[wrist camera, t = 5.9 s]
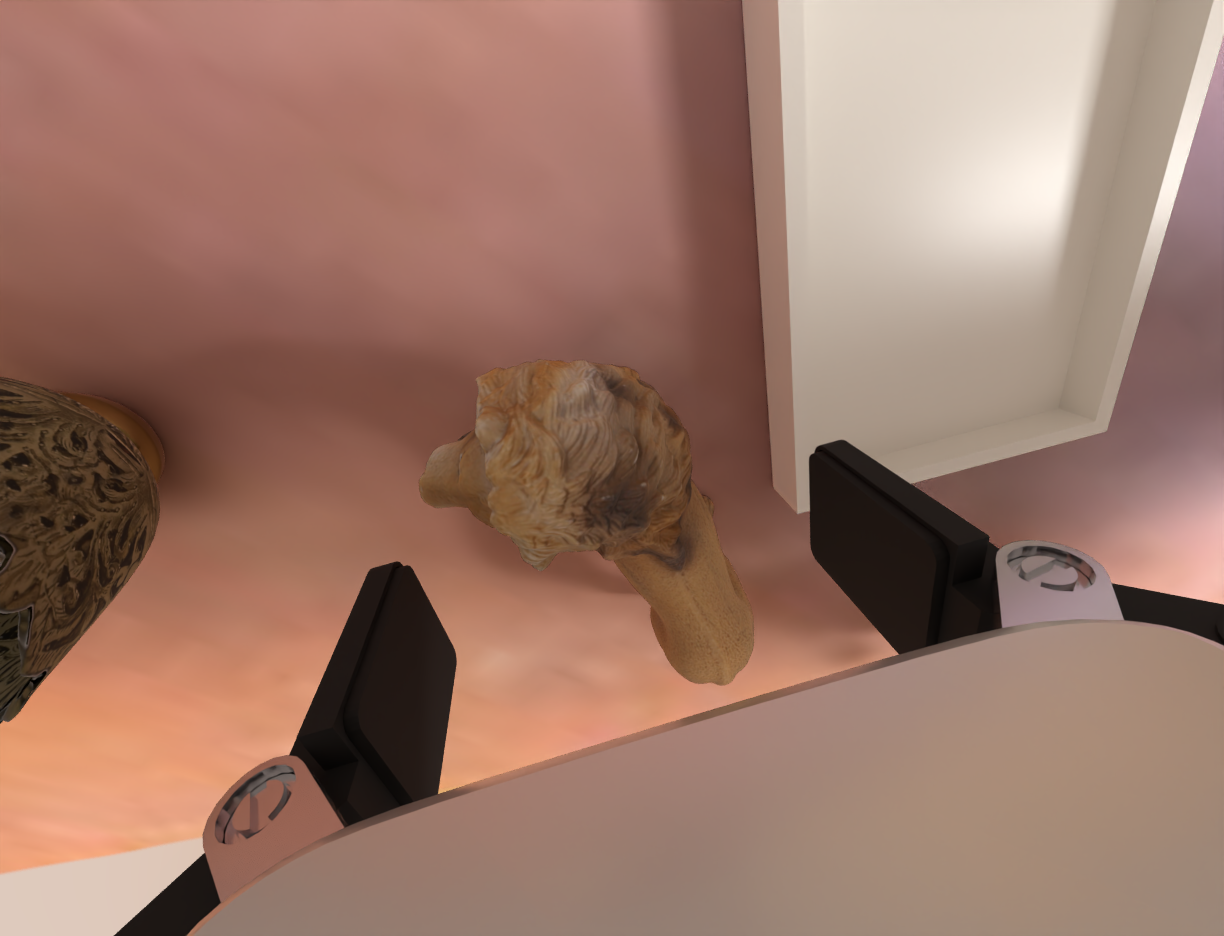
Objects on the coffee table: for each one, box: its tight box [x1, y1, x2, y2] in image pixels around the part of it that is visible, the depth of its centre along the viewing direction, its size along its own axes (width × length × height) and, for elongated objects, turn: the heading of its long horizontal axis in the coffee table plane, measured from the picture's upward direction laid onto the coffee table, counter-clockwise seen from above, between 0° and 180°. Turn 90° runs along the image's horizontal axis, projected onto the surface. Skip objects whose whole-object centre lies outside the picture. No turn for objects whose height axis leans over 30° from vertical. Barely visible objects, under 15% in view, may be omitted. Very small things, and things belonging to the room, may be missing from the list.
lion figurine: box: [419, 359, 754, 685], centre depth 14 cm, size 15×5×9 cm, turn 36°
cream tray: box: [742, 0, 1224, 514], centre depth 15 cm, size 12×18×2 cm, turn 12°
